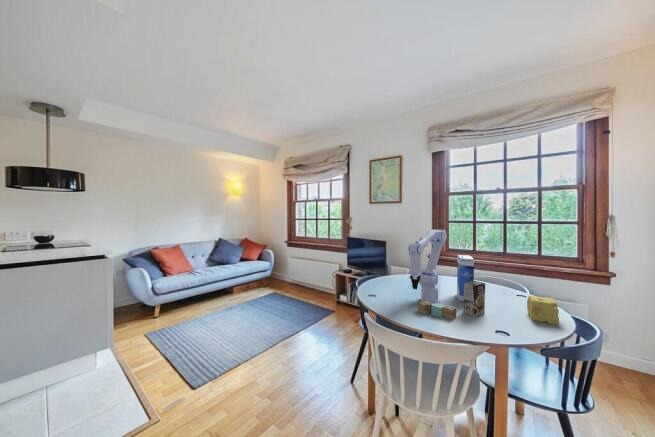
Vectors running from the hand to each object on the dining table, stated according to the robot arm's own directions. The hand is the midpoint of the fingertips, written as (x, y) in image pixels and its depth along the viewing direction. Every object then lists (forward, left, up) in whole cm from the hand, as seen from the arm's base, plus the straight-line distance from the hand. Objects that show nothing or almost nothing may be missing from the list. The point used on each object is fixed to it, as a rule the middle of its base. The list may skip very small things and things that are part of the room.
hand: (414, 288), depth 138 cm
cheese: (-48, +37, -10) cm, 61 cm away
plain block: (-4, +13, -10) cm, 17 cm away
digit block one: (0, +8, -10) cm, 13 cm away
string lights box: (-38, +2, -10) cm, 39 cm away
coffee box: (-23, +19, -10) cm, 31 cm away
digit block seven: (-7, +17, -10) cm, 21 cm away
